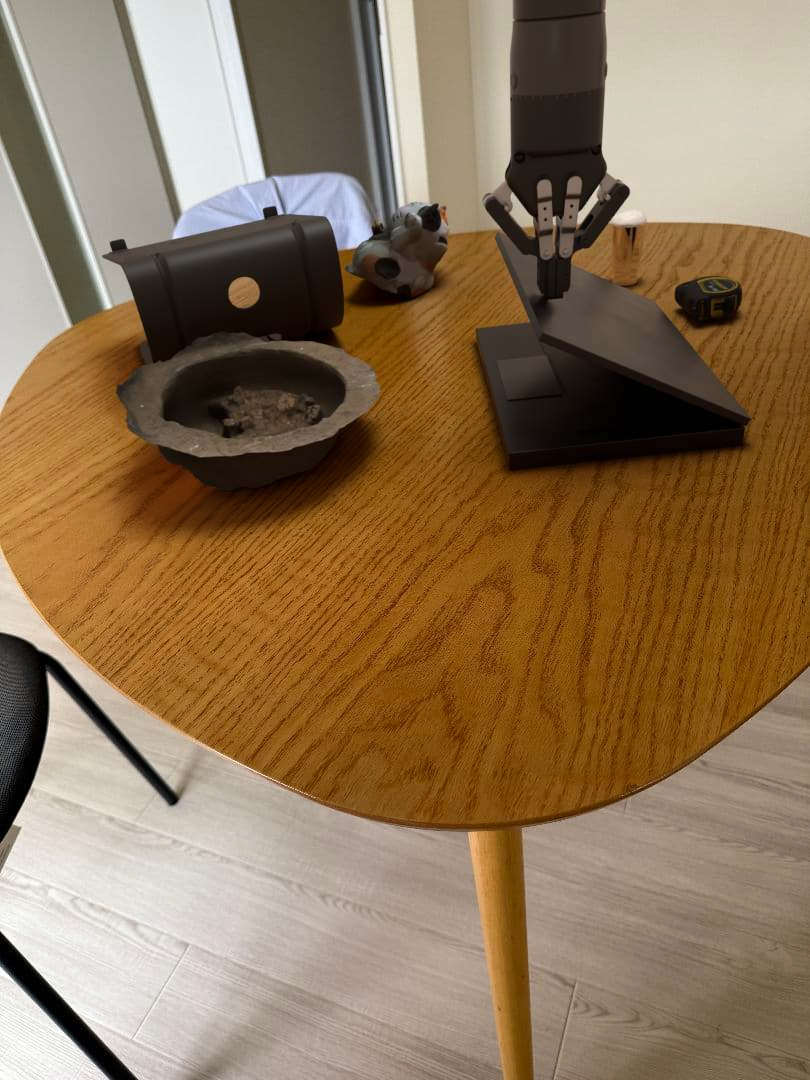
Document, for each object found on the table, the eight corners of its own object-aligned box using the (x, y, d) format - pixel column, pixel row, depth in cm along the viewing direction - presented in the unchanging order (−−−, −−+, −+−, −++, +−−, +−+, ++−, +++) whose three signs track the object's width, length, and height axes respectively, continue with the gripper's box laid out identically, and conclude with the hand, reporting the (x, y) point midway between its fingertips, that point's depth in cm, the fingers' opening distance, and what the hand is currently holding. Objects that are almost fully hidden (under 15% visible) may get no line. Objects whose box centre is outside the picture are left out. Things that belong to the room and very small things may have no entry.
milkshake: (615, 273, 109) (619, 197, 103) (649, 279, 106) (655, 201, 100) (596, 283, 107) (598, 206, 101) (629, 290, 104) (634, 211, 98)
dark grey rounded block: (158, 405, 91) (114, 271, 81) (130, 341, 108) (91, 226, 99) (361, 349, 97) (342, 220, 88) (303, 297, 115) (282, 185, 106)
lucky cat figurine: (370, 270, 122) (403, 179, 115) (437, 304, 120) (474, 214, 114) (329, 274, 108) (365, 172, 102) (404, 312, 107) (445, 210, 100)
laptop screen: (537, 342, 64) (542, 332, 63) (493, 238, 88) (497, 231, 88) (745, 427, 69) (752, 419, 69) (650, 308, 93) (654, 301, 93)
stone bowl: (112, 441, 84) (88, 358, 79) (324, 388, 93) (315, 310, 88) (174, 550, 65) (148, 451, 60) (430, 469, 75) (427, 378, 70)
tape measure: (670, 308, 97) (673, 278, 95) (725, 301, 97) (730, 271, 95) (690, 328, 92) (693, 297, 89) (748, 321, 91) (753, 289, 89)
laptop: (509, 470, 71) (508, 452, 70) (476, 342, 95) (475, 327, 94) (742, 445, 70) (745, 426, 69) (649, 322, 94) (650, 307, 93)
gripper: (628, 69, 65) (614, 276, 76) (470, 86, 66) (478, 290, 76) (653, 79, 59) (634, 303, 70) (479, 98, 60) (486, 318, 70)
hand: (552, 296), depth 73 cm, fingers closed
